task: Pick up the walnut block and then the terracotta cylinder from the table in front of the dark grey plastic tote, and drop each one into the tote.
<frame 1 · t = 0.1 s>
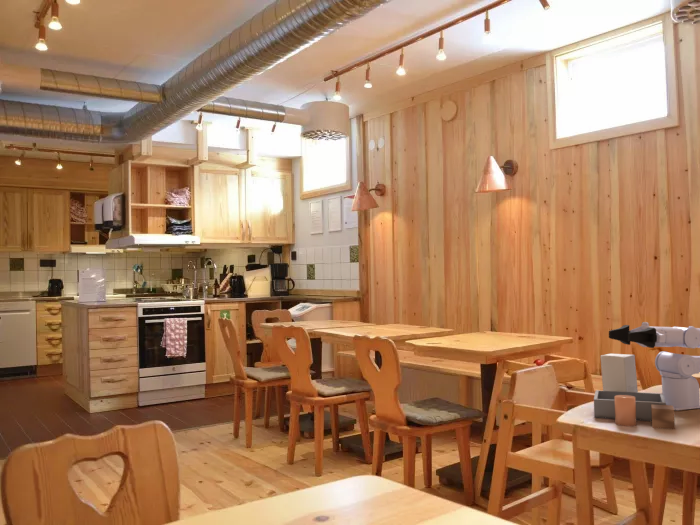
hand: (618, 335, 175), 22 cm above the table, tool horizontal, fingers open, 7 cm apart
walnut block: (663, 426, 159), on the table
terracotta cylinder: (625, 423, 163), on the table
tote: (629, 414, 172), on the table
skincare box: (620, 404, 186), on the table
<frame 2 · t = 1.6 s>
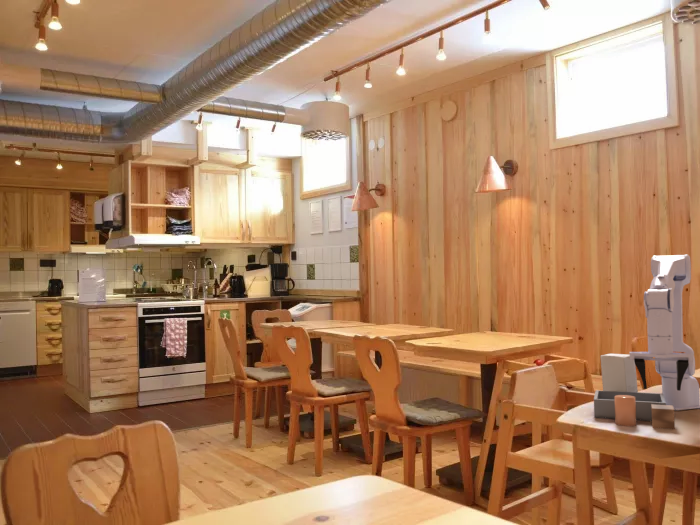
hand: (661, 389, 159), 9 cm above the table, tool pointing down, fingers open, 7 cm apart
nothing on the table moved.
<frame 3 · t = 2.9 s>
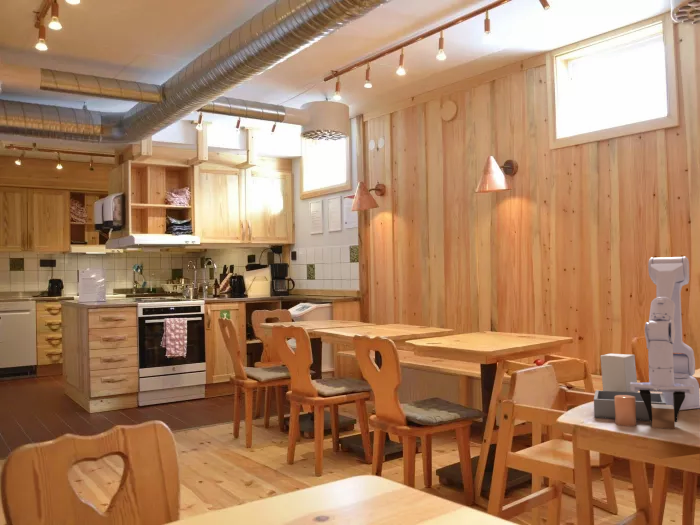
hand: (662, 420, 159), 1 cm above the table, tool pointing down, fingers closed on walnut block, 5 cm apart
walnut block: (663, 426, 159), on the table, touching gripper
everything else where it was.
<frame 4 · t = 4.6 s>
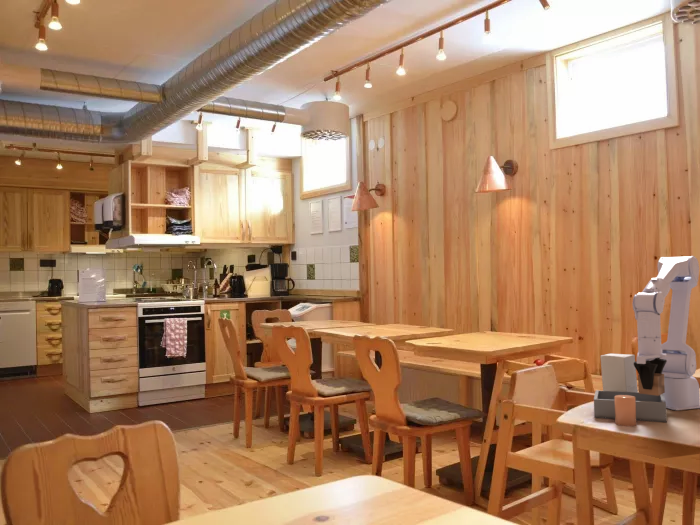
hand: (651, 387, 167), 8 cm above the table, tool pointing down, fingers closed on walnut block, 5 cm apart
walnut block: (651, 393, 167), point 7 cm above the table, touching gripper
everything else where it was.
when the fingers open (4 cm above the table, at t = 6.2 s): walnut block drops 2 cm, resting on tote.
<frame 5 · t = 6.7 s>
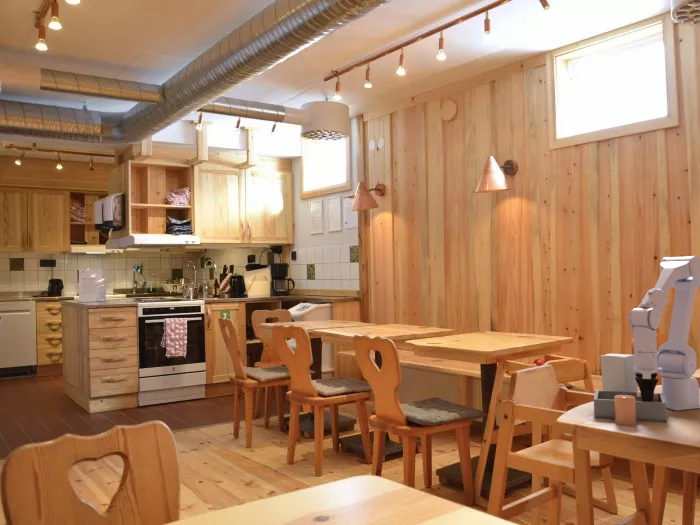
hand: (647, 401, 171), 4 cm above the table, tool pointing down, fingers open, 7 cm apart
walnut block: (647, 413, 171), point 1 cm above the table, touching tote
everything else where it was.
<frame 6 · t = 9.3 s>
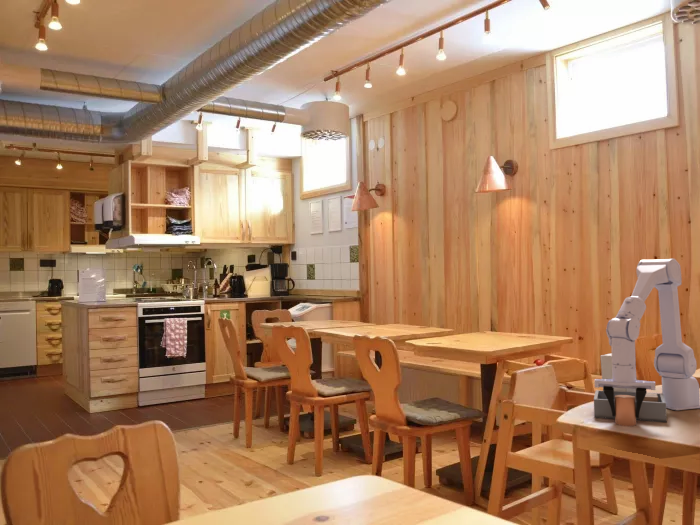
hand: (625, 416, 163), 2 cm above the table, tool pointing down, fingers closed on terracotta cylinder, 5 cm apart
terracotta cylinder: (625, 423, 163), on the table, touching gripper
everything else where it was.
when the fingers open (4 cm above the table, at t = 12.7 s): terracotta cylinder drops 2 cm, resting on tote.
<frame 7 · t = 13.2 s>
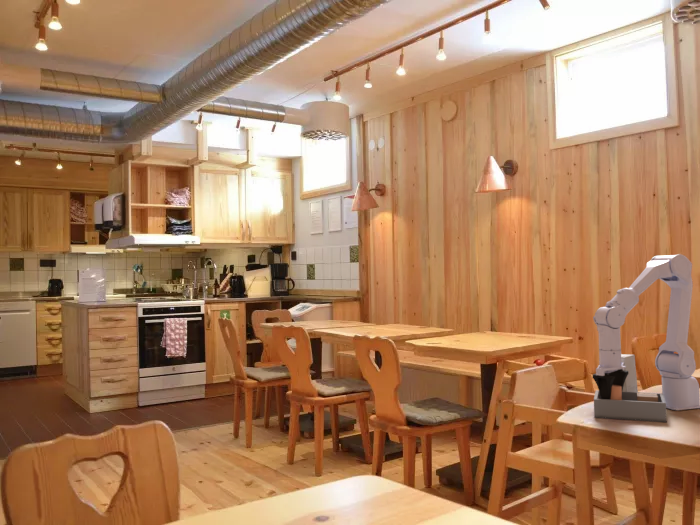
hand: (611, 398, 174), 4 cm above the table, tool pointing down, fingers open, 7 cm apart
terracotta cylinder: (612, 411, 174), point 1 cm above the table, touching tote
everything else where it was.
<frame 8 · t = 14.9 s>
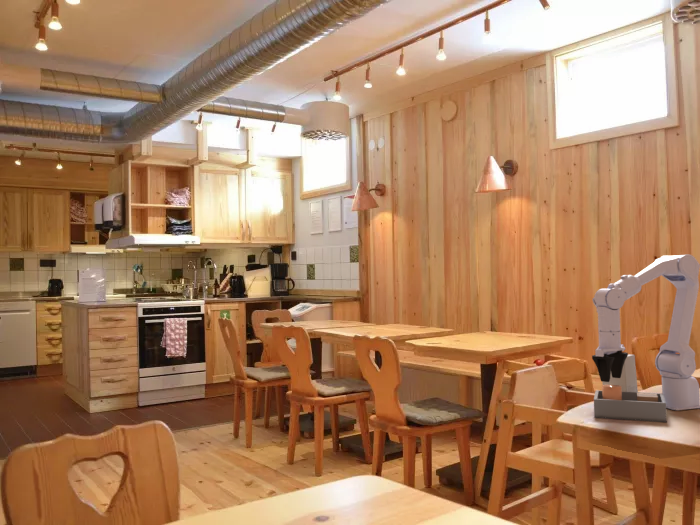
hand: (610, 379, 174), 9 cm above the table, tool pointing down, fingers open, 7 cm apart
nothing on the table moved.
at the end: walnut block inside the target area on the tote (4.5 cm from its centre), point 0.6 cm above the tote's base; terracotta cylinder inside the target area on the tote (4.3 cm from its centre), point 0.6 cm above the tote's base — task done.
